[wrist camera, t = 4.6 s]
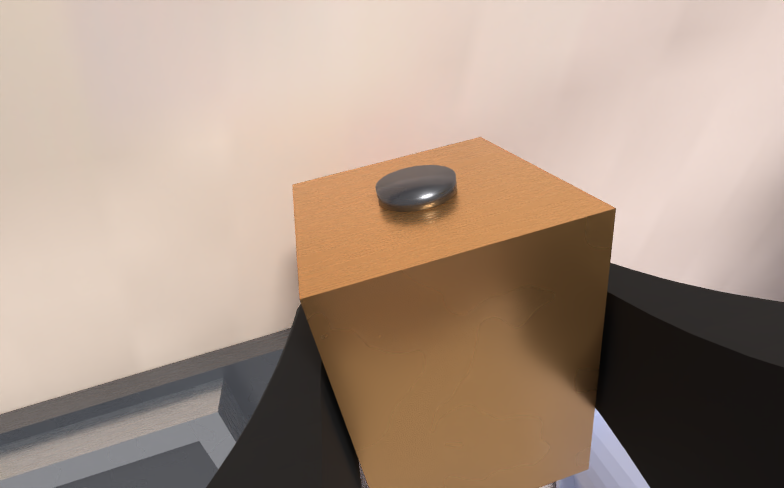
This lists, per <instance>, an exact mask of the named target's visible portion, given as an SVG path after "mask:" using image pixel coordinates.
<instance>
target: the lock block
mask: <svg viewBox="0 0 784 488" xmlns="http://www.w3.org/2000/svg"><path fill="white" fill-rule="evenodd" d="M292 186H293V202H294V218H295V234H296V250H297V265H298V281H299V297H300V302H301V304H302V307H303V310H304V313H305V315H306V318H307V321H308V323H309V326H310V329H311V332H312V334H313V337H314V340H315V342H316V345H317V348H318V351H319V353H320V356H321V359H322V361H323V364H324V367H325V370H326V372H327V375H328V378H329V380H330V383H331V386H332V389H333V391H334V394H335V397H336V399H337V402H338V405H339V408H340V410H341V413H342V416H343V418H344V421H345V424H346V427H347V429H348V432H349V435H350V437H351V440H352V443H353V446H354V448H355V451H356V454H357V456H358V459H359V462H360V465H361V467H362V470H363V473H364V475H365V478H366V481H367V484H368V486H369V488H539V487H542V486H545V485H547V484H550V483H553V482H556V481H558V480H561V479H564V478H566V477H569V476H572V475H574V474H577V473H580V472H583V471H585V470H588V469H589V460H590V451H591V441H592V432H593V422H594V412H595V403H596V393H597V384H598V374H599V365H600V355H601V345H602V336H603V326H604V317H605V307H606V298H607V288H608V279H609V269H610V259H611V250H612V240H613V231H614V221H615V212H616V208H614V207H613V206H611V205H609V204H607V203H605V202H603V201H601V200H599V199H597V198H595V197H594V196H592V195H590V194H588V193H586V192H584V191H582V190H580V189H578V188H576V187H575V186H573V185H571V184H569V183H567V182H565V181H563V180H561V179H559V178H557V177H556V176H554V175H552V174H550V173H548V172H546V171H544V170H542V169H540V168H538V167H537V166H535V165H533V164H531V163H529V162H527V161H525V160H523V159H521V158H519V157H518V156H516V155H514V154H512V153H510V152H508V151H506V150H504V149H502V148H500V147H499V146H497V145H495V144H493V143H491V142H489V141H487V140H485V139H483V138H481V137H479V138H475V139H471V140H467V141H463V142H459V143H455V144H451V145H447V146H443V147H439V148H435V149H432V150H428V151H424V152H420V153H416V154H412V155H408V156H404V157H400V158H396V159H392V160H388V161H384V162H380V163H376V164H372V165H368V166H365V167H361V168H357V169H353V170H349V171H345V172H341V173H337V174H333V175H329V176H325V177H321V178H317V179H313V180H309V181H305V182H301V183H297V184H294V185H292Z"/></svg>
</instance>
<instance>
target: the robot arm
mask: <svg viewBox="0 0 784 488" xmlns="http://www.w3.org/2000/svg"><path fill="white" fill-rule="evenodd" d="M206 488H362V486H361V479H360V470H359V460H358V456H357V454H356V451H355V448H354V446H353V443H352V440H351V437H350V435H349V432H348V429H347V427H346V424H345V421H344V418H343V416H342V413H341V410H340V408H339V405H338V402H337V399H336V397H335V394H334V391H333V389H332V386H331V383H330V380H329V378H328V375H327V372H326V370H325V367H324V364H323V361H322V359H321V356H320V353H319V351H318V348H317V345H316V342H315V340H314V337H313V334H312V332H311V329H310V326H309V323H308V321H307V318H306V315H305V313H304V310H303V307H302V304H300V306H299V308H298V309H297V312H296V316H295V319H294V322H293V325H292V328H291V331H290V333H289V336H288V339H287V342H286V344H285V347H284V349H283V351H282V354H281V356H280V359H279V361H278V364H277V366H276V368H275V371H274V373H273V375H272V377H271V379H270V381H269V383H268V385H267V387H266V389H265V391H264V393H263V395H262V397H261V399H260V401H259V403H258V405H257V407H256V409H255V411H254V413H253V414H252V416H251V418H250V420H249V422H248V423H247V425H246V427H245V428H244V430H243V432H242V433H241V435H240V437H239V438H238V440H237V442H236V443H235V445H234V447H233V448H232V450H231V451H230V453H229V454H228V456H227V457H226V459H225V460H224V462H223V463H222V465H221V466H220V468H219V469H218V471H217V472H216V474H215V475H214V477H213V478H212V480H211V481H210V482H209V484H208V485H207V487H206ZM556 488H784V302H778V301H772V300H766V299H760V298H753V297H747V296H741V295H735V294H730V293H725V292H720V291H714V290H710V289H705V288H701V287H696V286H692V285H688V284H683V283H679V282H675V281H671V280H667V279H663V278H659V277H656V276H652V275H649V274H645V273H642V272H638V271H635V270H631V269H628V268H625V267H622V266H619V265H616V264H612V263H610V269H609V279H608V288H607V298H606V307H605V317H604V326H603V336H602V345H601V355H600V365H599V374H598V384H597V393H596V403H595V412H594V422H593V432H592V441H591V451H590V460H589V469H588V470H585V471H583V472H580V473H577V474H574V475H572V476H569V477H566V478H564V479H561V480H558V481H556Z"/></svg>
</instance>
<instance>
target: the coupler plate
mask: <svg viewBox="0 0 784 488" xmlns="http://www.w3.org/2000/svg"><path fill="white" fill-rule="evenodd" d="M290 331H291V328H290V329H287V330H284V331H280V332H277V333H273V334H270V335H267V336H263V337H260V338H257V339H253V340H250V341H247V342H243V343H240V344H236V345H233V346H230V347H226V348H223V349H220V350H216V351H213V352H209V353H206V354H203V355H199V356H196V357H193V358H189V359H186V360H183V361H179V362H176V363H172V364H169V365H166V366H162V367H159V368H156V369H152V370H149V371H145V372H142V373H139V374H135V375H132V376H129V377H125V378H122V379H119V380H115V381H112V382H108V383H105V384H102V385H98V386H95V387H92V388H88V389H85V390H81V391H78V392H75V393H71V394H68V395H65V396H61V397H58V398H55V399H51V400H48V401H44V402H41V403H38V404H34V405H31V406H28V407H24V408H21V409H18V410H14V411H11V412H7V413H4V414H1V415H0V488H206V487H207V485H208V484H209V482H210V481H211V480H212V478H213V477H214V475H215V474H216V472H217V471H218V469H219V468H220V466H221V465H222V463H223V462H224V460H225V459H226V457H227V456H228V454H229V453H230V451H231V450H232V448H233V447H234V445H235V443H236V442H237V440H238V438H239V437H240V435H241V433H242V432H243V430H244V428H245V427H246V425H247V423H248V422H249V420H250V418H251V416H252V414H253V413H254V411H255V409H256V407H257V405H258V403H259V401H260V399H261V397H262V395H263V393H264V391H265V389H266V387H267V385H268V383H269V381H270V379H271V377H272V375H273V373H274V371H275V368H276V366H277V364H278V361H279V359H280V356H281V354H282V351H283V349H284V347H285V344H286V342H287V339H288V336H289V333H290ZM361 486H362V484H361ZM362 488H363V487H362Z"/></svg>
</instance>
